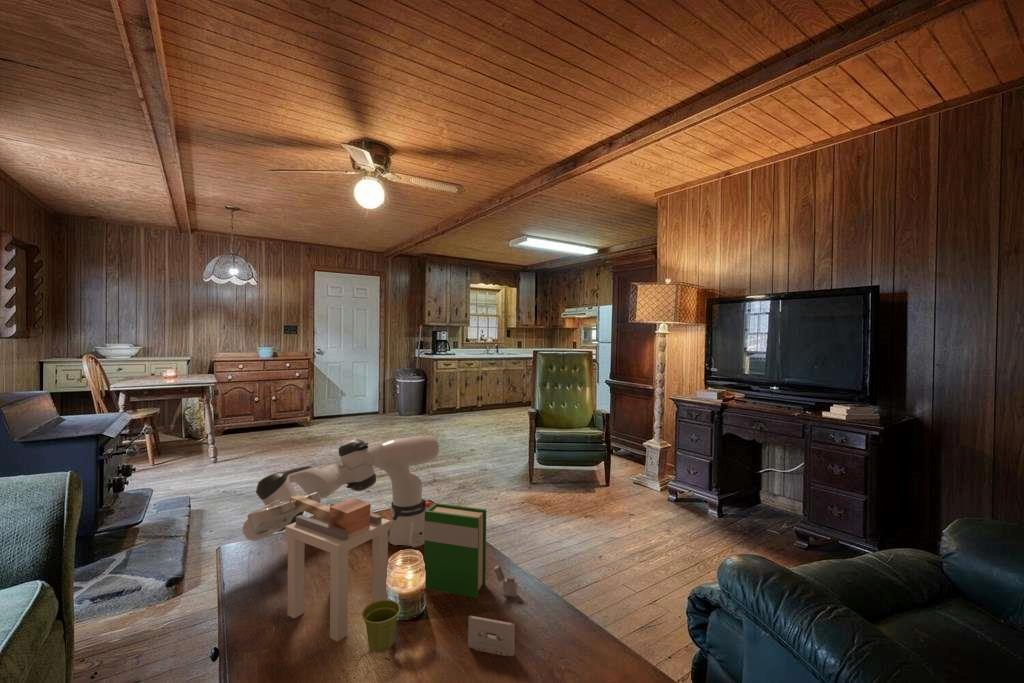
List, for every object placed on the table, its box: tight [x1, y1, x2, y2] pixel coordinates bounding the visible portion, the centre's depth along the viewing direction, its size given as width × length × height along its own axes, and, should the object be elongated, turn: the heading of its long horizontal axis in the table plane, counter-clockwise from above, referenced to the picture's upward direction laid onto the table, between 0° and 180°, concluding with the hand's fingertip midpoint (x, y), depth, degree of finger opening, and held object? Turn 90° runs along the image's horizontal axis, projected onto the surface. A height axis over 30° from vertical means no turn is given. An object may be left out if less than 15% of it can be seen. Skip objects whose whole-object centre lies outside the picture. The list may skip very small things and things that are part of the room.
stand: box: [284, 502, 392, 642], centre depth 125 cm, size 22×18×27 cm
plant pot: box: [361, 599, 402, 653], centre depth 112 cm, size 9×9×9 cm
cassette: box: [467, 615, 516, 657], centre depth 110 cm, size 12×2×8 cm, turn 75°
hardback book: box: [423, 502, 487, 599], centre depth 139 cm, size 18×7×24 cm, turn 74°
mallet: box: [290, 494, 372, 535], centre depth 128 cm, size 29×8×6 cm, turn 60°
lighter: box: [493, 565, 518, 598], centre depth 135 cm, size 7×2×8 cm, turn 73°
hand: (301, 501), depth 134 cm, fingers closed on mallet, 2 cm apart
